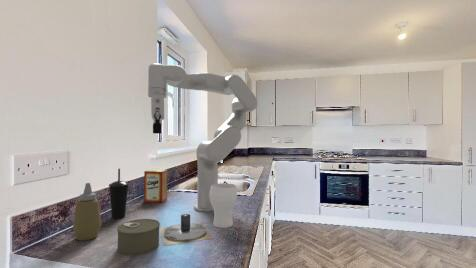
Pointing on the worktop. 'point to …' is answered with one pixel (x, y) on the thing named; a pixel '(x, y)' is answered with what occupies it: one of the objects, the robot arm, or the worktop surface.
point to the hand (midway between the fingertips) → (156, 133)
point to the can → (138, 237)
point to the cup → (223, 203)
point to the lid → (185, 230)
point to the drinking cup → (118, 197)
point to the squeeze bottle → (87, 215)
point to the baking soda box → (155, 186)
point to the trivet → (171, 242)
